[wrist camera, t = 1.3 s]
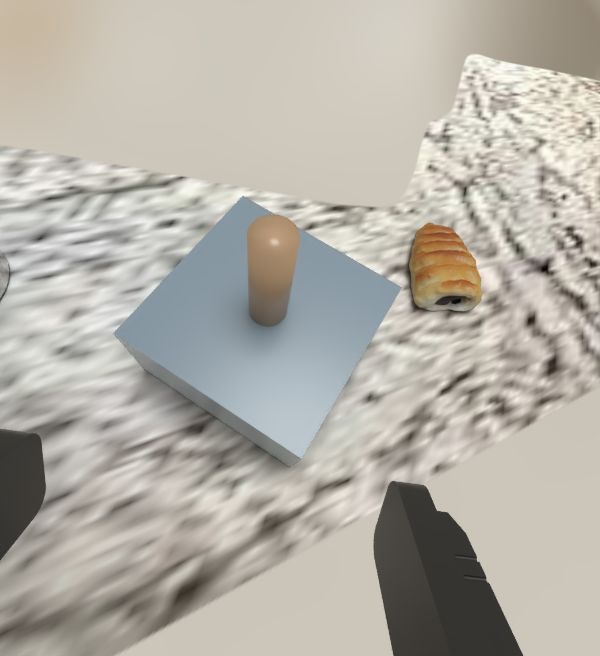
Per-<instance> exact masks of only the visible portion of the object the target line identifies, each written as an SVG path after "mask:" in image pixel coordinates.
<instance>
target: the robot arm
mask: <svg viewBox="0 0 600 656" xmlns="http://www.w3.org/2000/svg"><path fill="white" fill-rule="evenodd" d="M9 273H10V272H9V265H8V262H7V260H6V258H5V256H4V254H3V253H2V252H1V251H0V298H1V296H2V295H3V293H4V292H5V289H6V287H7V284H8V281H9ZM45 491H46V483H45V473H44V463H43V453H42V443H41V439H40V437H39V435H37V434H35V433H28V432H20V431H12V430H5V429H0V560H1V559H2V558H3V556H4V555H5V554H6V553H7V551H8V550H9V549H10V548H11V546H12V545H13V544H14V542H15V541H16V540H17V539H18V537H19V536H20V535H21V534H22V532H23V531H24V530H25V529H26V527H27V526H28V525H29V524H30V522H31V521H32V520H33V519H34V517H35V516H36V514H37V513H38V511H39V509H40V507H41V505H42V502H43V500H44V496H45ZM374 558H375V563H376V568H377V573H378V578H379V583H380V589H381V594H382V599H383V604H384V609H385V614H386V619H387V624H388V629H389V635H390V640H391V645H392V650H393V655H394V656H523V654H522V652H521V650H520V648H519V646H518V644H517V641H516V639H515V637H514V635H513V633H512V631H511V629H510V627H509V624H508V622H507V620H506V618H505V616H504V614H503V612H502V610H501V607H500V605H499V603H498V601H497V599H496V597H495V595H494V592H493V590H492V588H491V586H490V584H489V583H487V581H486V575H485V573H484V571H483V569H482V567H481V565H480V563H479V562H477V556H476V554H475V552H474V550H473V548H472V546H471V544H470V541H469V539H468V537H467V535H466V533H465V532H464V531H463V530H462V529H461V527H460V526H459V525H458V524H457V523H456V522H455V520H454V519H453V518H452V517H451V516H450V515H449V514H448V513H447V512H441V511H437V510H436V508H435V505H434V503H433V501H432V498H431V496H430V493H429V491H428V489H427V488H426V486H424V485H419V484H411V483H404V482H396V481H392V482H391V483H390V484H389V486H388V489H387V492H386V496H385V499H384V502H383V505H382V509H381V512H380V515H379V518H378V522H377V525H376V529H375V533H374Z"/></svg>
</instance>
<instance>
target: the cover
mask: <svg viewBox="0 0 600 656" xmlns="http://www.w3.org/2000/svg"><path fill="white" fill-rule="evenodd" d="M401 288H402V287H400V286H398V285H397V284H395V283H393V282H391V281H390V280H388V279H386V278H384V277H383V276H381V275H379V274H377V273H376V272H374V271H372V270H371V269H369V268H367V267H365V266H364V265H362V264H360V263H358V262H357V261H355V260H353V259H351V258H350V257H348V256H346V255H345V254H343V253H341V252H339V251H338V250H336V249H334V248H332V247H331V246H329V245H327V244H325V243H324V242H322V241H320V240H319V239H317V238H315V237H313V236H312V235H310V234H308V233H306V232H305V231H303V230H301V229H299V228H298V227H297V226H296V225H295V224H294V223H293V222H292V221H291V220H289V219H288V218H286V217H283V216H280V215H275V214H273V213H272V212H270V211H268V210H267V209H265V208H263V207H261V206H260V205H258V204H256V203H254V202H253V201H251V200H249V199H247V198H246V197H244V196H242V197H241V199H240V200H239V201H238V202H237V203H236V204H235V205H234V206H233V207H232V208H231V209H230V210H229V211H228V212H227V213H226V214H225V216H224V217H223V218H222V219H221V220H220V221H219V222H218V223H217V224H216V225H215V226H214V227H213V228H212V229H211V230H210V231H209V232H208V234H207V235H206V236H205V237H204V238H203V239H202V240H201V241H200V242H199V243H198V244H197V245H196V246H195V247H194V248H193V249H192V251H191V252H190V253H189V254H188V255H187V256H186V257H185V258H184V259H183V260H182V261H181V262H180V263H179V264H178V265H177V266H176V268H175V269H174V270H173V271H172V272H171V273H170V274H169V275H168V276H167V277H166V278H165V279H164V280H163V281H162V282H161V283H160V285H159V286H158V287H157V288H156V289H155V290H154V291H153V292H152V293H151V294H150V295H149V296H148V297H147V298H146V299H145V300H144V302H143V303H142V304H141V305H140V306H139V307H138V308H137V309H136V310H135V311H134V312H133V313H132V314H131V315H130V316H129V317H128V318H127V320H126V321H125V322H124V323H123V324H122V325H121V326H120V327H119V328H118V329H117V330H116V331H115V332H114V333H113V334H114V335H115V336H116V337H117V338H118V339H119V341H120V342H121V343H122V344H123V345H124V346H125V348H126V349H127V350H128V351H129V352H130V353H131V354H132V356H133V357H134V358H135V359H136V360H137V361H138V362H139V364H140V365H141V366H142V367H143V368H144V369H145V370H146V371H147V372H149V373H150V374H152V375H153V376H155V377H156V378H158V379H159V380H161V381H162V382H164V383H165V384H167V385H168V386H170V387H171V388H173V389H174V390H176V391H177V392H179V393H180V394H182V395H183V396H185V397H186V398H188V399H189V400H191V401H192V402H194V403H195V404H197V405H198V406H200V407H201V408H203V409H204V410H205V411H207V412H208V413H210V414H211V415H213V416H214V417H216V418H217V419H219V420H220V421H222V422H223V423H225V424H226V425H228V426H229V427H231V428H232V429H234V430H235V431H237V432H238V433H240V434H241V435H243V436H244V437H246V438H247V439H249V440H250V441H252V442H253V443H255V444H256V445H258V446H259V447H261V448H262V449H263V450H265V451H266V452H268V453H269V454H271V455H272V456H274V457H275V458H277V459H278V460H280V461H281V462H283V463H284V464H286V465H287V466H289V467H291V466H293V465H294V464H295V463H297V462H298V461H299V460H301V459H302V457H303V455H304V454H305V452H306V450H307V449H308V447H309V445H310V443H311V442H312V440H313V438H314V437H315V435H316V433H317V432H318V430H319V428H320V426H321V425H322V423H323V421H324V420H325V418H326V416H327V414H328V413H329V411H330V409H331V408H332V406H333V404H334V403H335V401H336V399H337V397H338V396H339V394H340V392H341V391H342V389H343V387H344V385H345V384H346V382H347V380H348V379H349V377H350V375H351V373H352V372H353V370H354V368H355V367H356V365H357V363H358V362H359V360H360V358H361V356H362V355H363V353H364V351H365V350H366V348H367V346H368V344H369V343H370V341H371V339H372V338H373V336H374V334H375V333H376V331H377V329H378V327H379V326H380V324H381V322H382V321H383V319H384V317H385V315H386V314H387V312H388V310H389V309H390V307H391V305H392V303H393V302H394V300H395V298H396V297H397V295H398V293H399V292H400V290H401Z"/></svg>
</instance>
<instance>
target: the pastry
mask: <svg viewBox="0 0 600 656" xmlns="http://www.w3.org/2000/svg"><path fill="white" fill-rule="evenodd" d="M409 268H410V271H411V289H412V296H413V299H414V302H415V304H416V305H417V306H418V307H419V308H424V309H425V310H430V311H438V310H447V309H451V310H454V311H468V310H470V309H472V308H474V307H475V306H476V305H478V304H479V302H480V301H481V296H482V291H481V290H480V286H481V278H480V276H479V273H478V271H477V268H476V260H475V259H474V258H473V257H472V255H471V254H470V253H469V252H468V250H467V248H466V246H465V245H464V243H463V241H462V240H461V239H460V237H459V236H458V235H457V234H456V233H455V232H454V230H453V229H451V228H449V227H445V226H441V225H434V224H433V223H427V224H426V225H424V226H423V227H422V228H421V229H420V230H419V231H417V233H416V235H415V240H414V244H413V246H412V249H411V259H410V262H409Z"/></svg>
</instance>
